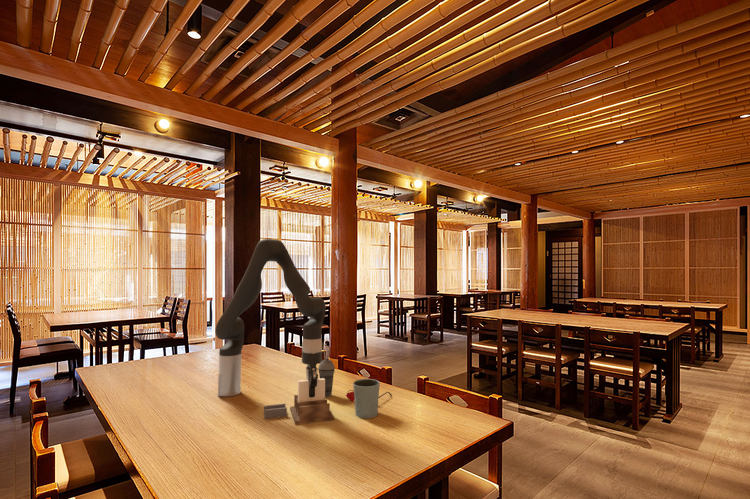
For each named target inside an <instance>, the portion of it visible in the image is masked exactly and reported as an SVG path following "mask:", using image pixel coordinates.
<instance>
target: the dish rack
mask: <svg viewBox="0 0 750 499" xmlns="http://www.w3.org/2000/svg"><path fill="white" fill-rule="evenodd" d="M293 398H294V399H293V400H294V401H293V403H294V404H293V406H290V407H289V411H290V414H291V417H292V420H293V421H294V422H293V423H294V425H295V426H296V425H303V424H305V425H306V424H311V423H320V422H326V421H334V420H335V416H334V415H333V413H332V411H331V410H330V402H328V399H327V398H325V400H316V401H306V402H298V394H294V396H293Z"/></svg>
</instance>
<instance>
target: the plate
mask: <svg viewBox="0 0 750 499" xmlns="http://www.w3.org/2000/svg"><path fill="white" fill-rule="evenodd" d="M297 395H298V402H306V401H316V400H325V399H326V397H325V379H324V378H321V379H320V378H318V380H317V386H316V387H315V397H309V381H308V380H307V379H303V380H302V379H300V380H297Z"/></svg>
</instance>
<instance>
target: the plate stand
mask: <svg viewBox="0 0 750 499" xmlns="http://www.w3.org/2000/svg"><path fill="white" fill-rule="evenodd" d="M286 405H287V404H286V403H285V402H284V403H277V404H276V403H275V404H267V405H263V415H264V416H263V418H264V419H265V420H266V419H273V418H283V417H287V416H288V415H287V414H288V412H287V410H288V408H287V406H286Z"/></svg>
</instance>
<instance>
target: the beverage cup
mask: <svg viewBox="0 0 750 499" xmlns="http://www.w3.org/2000/svg"><path fill="white" fill-rule="evenodd" d="M323 356H324V359H322V362H321V363H319V365H318V367H317V368H318V377H319V379H321V378H324V379H325V398H330V397H332V394H333V385H334V384H333V383H334V376H335V375H334V374H335V369H336V368H335V365H334V364H335V363H334V362H333V361H332V359H329V358H327V357H326V350H325V348H324V349H323Z"/></svg>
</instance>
